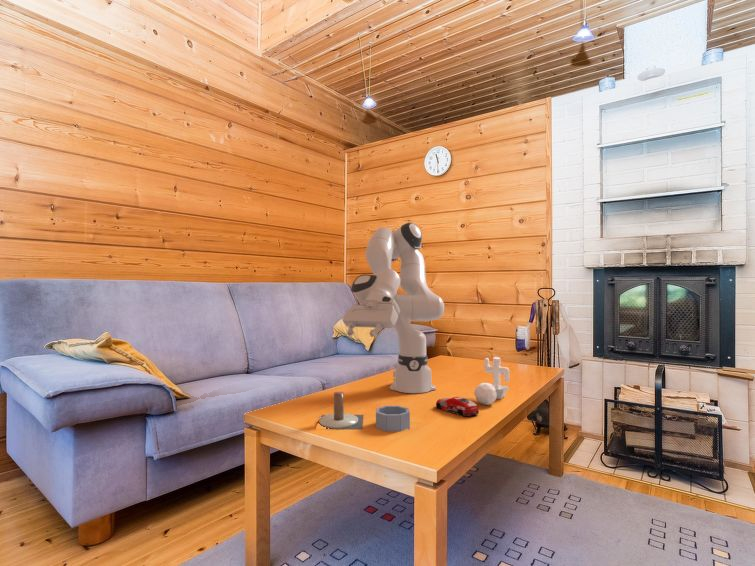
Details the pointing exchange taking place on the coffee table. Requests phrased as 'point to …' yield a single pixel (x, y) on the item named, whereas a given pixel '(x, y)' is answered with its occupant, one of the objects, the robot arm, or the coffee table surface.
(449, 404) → the race car
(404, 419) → the bowl
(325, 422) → the lid
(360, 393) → the coffee table surface
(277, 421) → the coffee table surface
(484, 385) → the geometric ball
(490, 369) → the figurine
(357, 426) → the mat
